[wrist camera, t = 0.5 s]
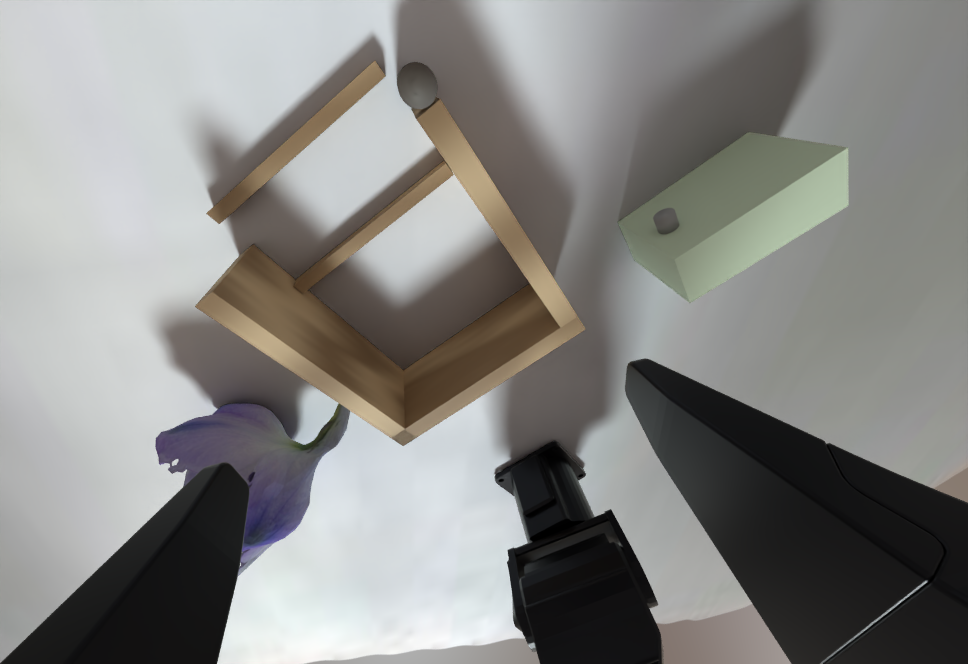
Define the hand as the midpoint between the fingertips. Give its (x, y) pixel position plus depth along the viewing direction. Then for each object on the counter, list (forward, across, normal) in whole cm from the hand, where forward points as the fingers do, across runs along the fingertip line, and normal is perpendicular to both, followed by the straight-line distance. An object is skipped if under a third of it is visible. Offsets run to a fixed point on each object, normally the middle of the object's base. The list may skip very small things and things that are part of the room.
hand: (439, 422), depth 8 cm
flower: (+14, +12, +11) cm, 21 cm away
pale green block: (+14, -16, +2) cm, 21 cm away
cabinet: (+13, +1, +1) cm, 14 cm away
